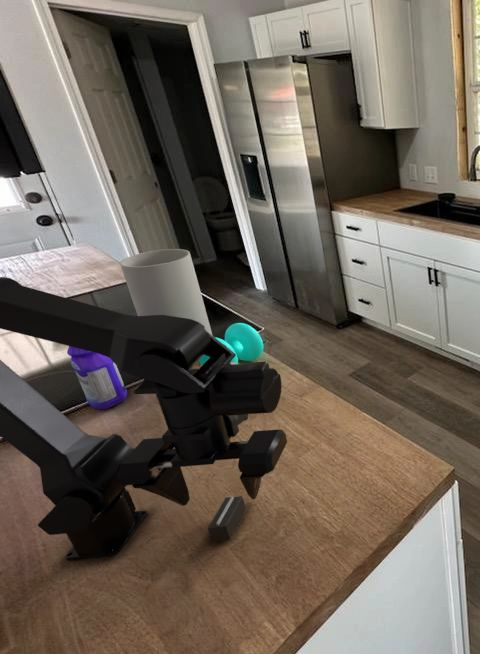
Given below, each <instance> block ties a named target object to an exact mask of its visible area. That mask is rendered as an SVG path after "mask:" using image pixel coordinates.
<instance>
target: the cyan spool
mask: <svg viewBox="0 0 480 654" xmlns="http://www.w3.org/2000/svg"><path fill="white" fill-rule="evenodd" d="M214 337H215V338H216V339H217V340H219V341H220V342H221V343H222V344H224V345H226V347H227V348H229V349H230V350H231V351H232V352H234V353H235V354H236V356H235V357H234V358H233V359H232V361H231V362H230V363H238V364H239V360H241V361H243V362H253V361H256V360H258V359H259V358H261V356H262V354H263V352H264V342H263V339H262V337H261V335H260V333H259V332H258V330H256V329H255V328H254V327H252V325H249V324H247V323H244V322H236V323H232V324H231V325H229V326H228V327H227V329H226V330H225V333H224V339H222V338H219V337H216V336H214ZM209 358H210V357H209V356H206V355H203V356H202V357H201V358H200V359H199V360H198V362H199V364H200V365H201V366H202V365H203V364H204V363H205V362H206V361H207V360H208V359H209ZM201 366H200V367H201Z"/></svg>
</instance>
